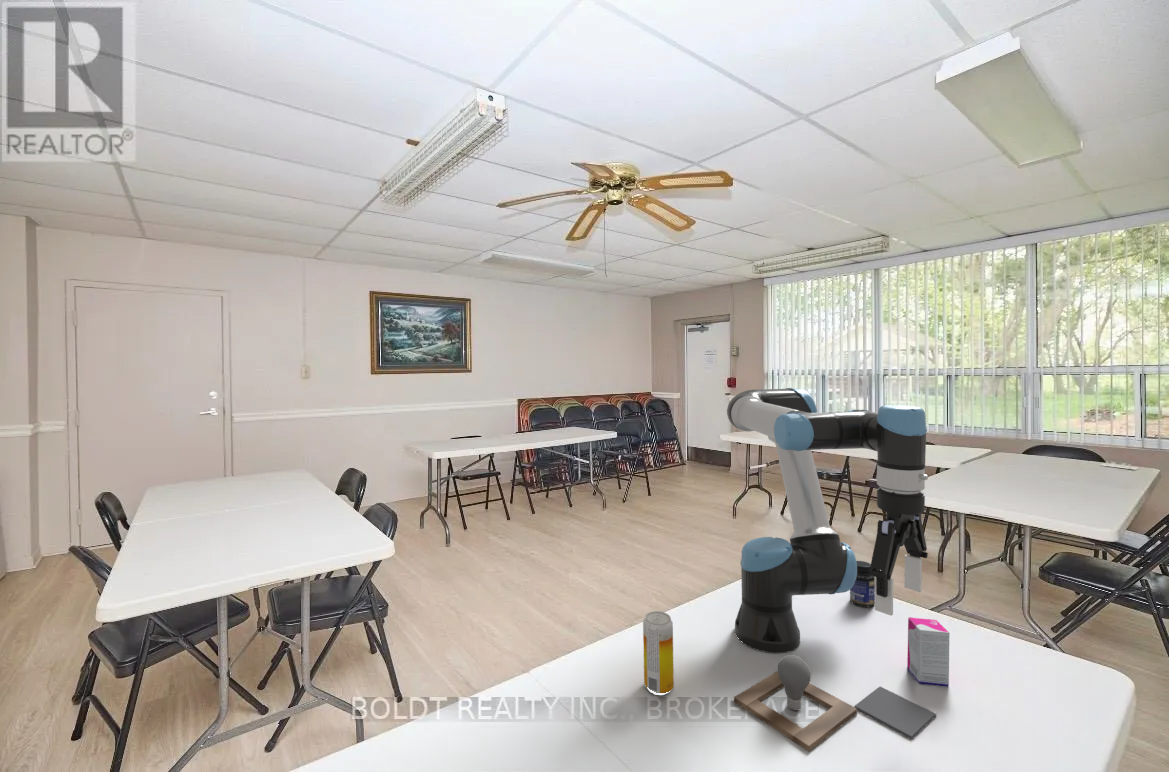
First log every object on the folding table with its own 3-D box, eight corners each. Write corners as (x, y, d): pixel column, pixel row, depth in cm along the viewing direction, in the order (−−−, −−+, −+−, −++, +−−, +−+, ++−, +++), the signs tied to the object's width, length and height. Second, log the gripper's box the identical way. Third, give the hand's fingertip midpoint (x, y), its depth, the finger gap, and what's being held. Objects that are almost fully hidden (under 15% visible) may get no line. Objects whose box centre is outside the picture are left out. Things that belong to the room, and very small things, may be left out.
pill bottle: (874, 610, 135) (874, 569, 135) (848, 604, 138) (848, 565, 138) (875, 600, 140) (875, 562, 140) (851, 595, 144) (850, 558, 143)
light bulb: (808, 722, 93) (808, 670, 93) (774, 711, 96) (774, 660, 96) (813, 703, 98) (812, 654, 98) (780, 694, 101) (780, 645, 101)
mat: (854, 708, 97) (854, 705, 97) (879, 689, 102) (879, 686, 102) (911, 739, 88) (911, 736, 88) (935, 716, 94) (935, 713, 94)
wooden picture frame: (733, 701, 99) (733, 696, 99) (782, 672, 108) (782, 668, 108) (809, 751, 86) (809, 745, 86) (857, 713, 95) (857, 708, 95)
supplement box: (950, 687, 102) (950, 632, 102) (918, 684, 104) (918, 630, 103) (936, 670, 108) (936, 618, 108) (906, 668, 109) (906, 616, 109)
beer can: (676, 683, 106) (675, 613, 105) (669, 700, 100) (668, 627, 100) (649, 676, 108) (648, 608, 108) (640, 693, 103) (639, 621, 102)
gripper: (895, 506, 82) (894, 632, 83) (947, 481, 98) (945, 587, 99) (848, 497, 88) (847, 614, 89) (904, 474, 103) (902, 574, 105)
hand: (899, 600), depth 94 cm, fingers open, 13 cm apart
